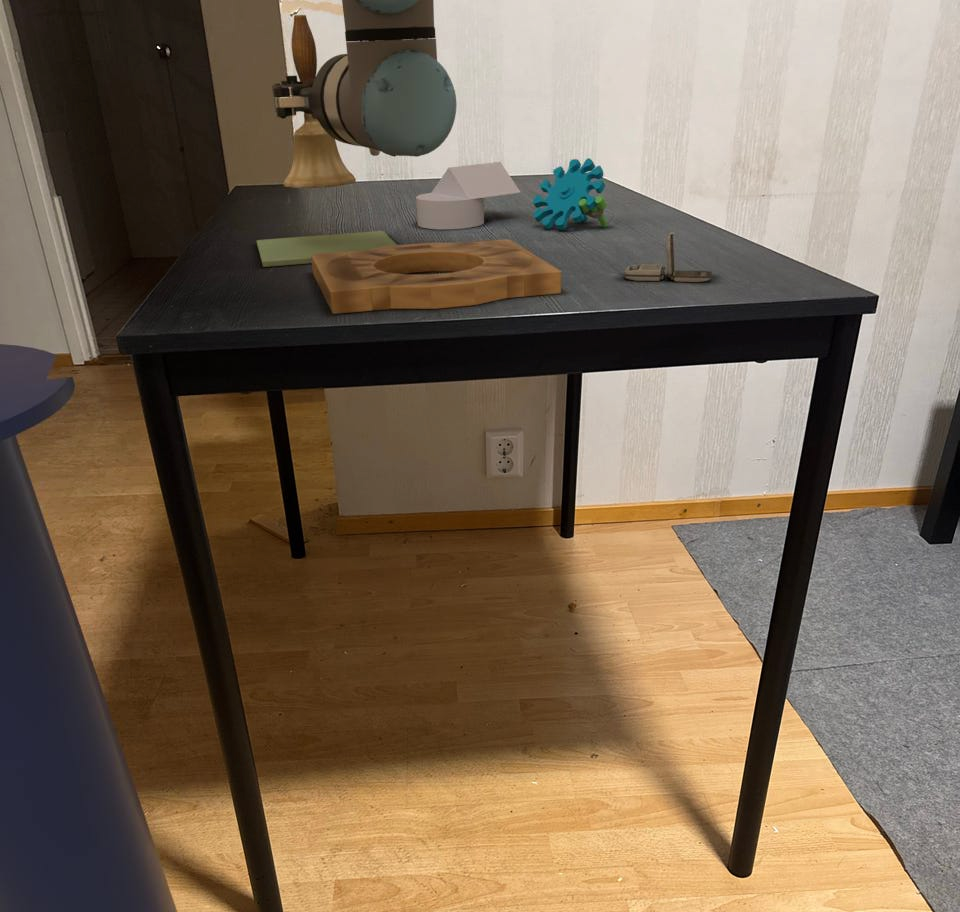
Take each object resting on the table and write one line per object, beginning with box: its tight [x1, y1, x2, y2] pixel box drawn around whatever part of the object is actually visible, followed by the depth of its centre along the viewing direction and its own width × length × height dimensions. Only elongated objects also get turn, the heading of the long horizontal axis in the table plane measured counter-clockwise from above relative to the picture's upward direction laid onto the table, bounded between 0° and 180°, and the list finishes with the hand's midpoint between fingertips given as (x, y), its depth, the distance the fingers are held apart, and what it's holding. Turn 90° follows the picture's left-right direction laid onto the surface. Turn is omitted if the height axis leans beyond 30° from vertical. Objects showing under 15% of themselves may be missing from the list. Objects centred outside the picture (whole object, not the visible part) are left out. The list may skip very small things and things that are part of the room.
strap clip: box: [624, 231, 713, 283], centre depth 87 cm, size 8×3×4 cm, turn 76°
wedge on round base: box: [415, 161, 522, 230], centre depth 118 cm, size 9×7×13 cm
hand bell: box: [283, 14, 357, 189], centre depth 97 cm, size 8×8×16 cm
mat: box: [256, 230, 398, 268], centre depth 106 cm, size 16×14×1 cm
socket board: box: [311, 238, 562, 315], centre depth 89 cm, size 22×21×2 cm
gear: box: [532, 157, 609, 230], centre depth 114 cm, size 11×6×10 cm
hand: (296, 94), depth 101 cm, fingers closed on hand bell, 2 cm apart
